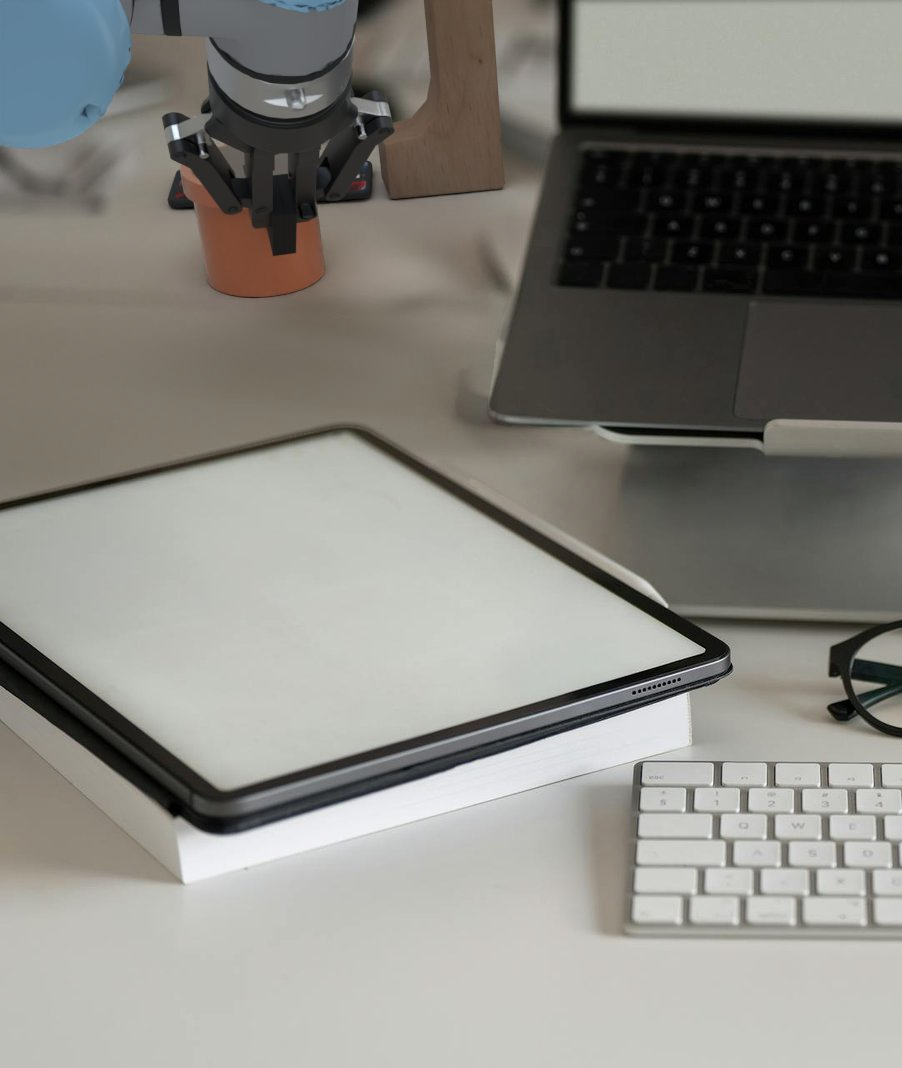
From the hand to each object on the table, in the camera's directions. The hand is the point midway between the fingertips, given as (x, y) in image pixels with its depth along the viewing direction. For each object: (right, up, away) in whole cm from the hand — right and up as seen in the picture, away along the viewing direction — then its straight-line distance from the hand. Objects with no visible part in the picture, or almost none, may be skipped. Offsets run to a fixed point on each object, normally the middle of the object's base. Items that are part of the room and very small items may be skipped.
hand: (280, 235), depth 113 cm
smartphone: (-7, +7, +19) cm, 22 cm away
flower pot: (-3, -1, +6) cm, 7 cm away
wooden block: (+6, +8, +21) cm, 23 cm away
